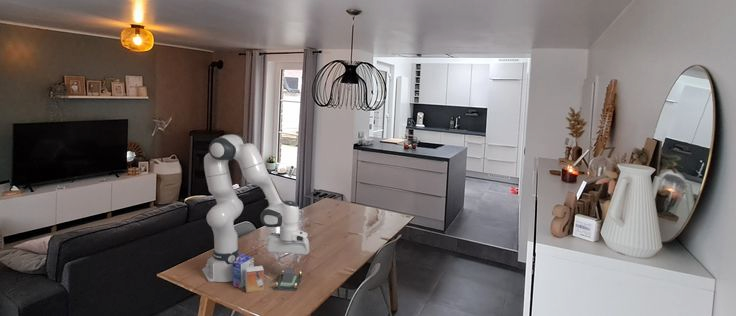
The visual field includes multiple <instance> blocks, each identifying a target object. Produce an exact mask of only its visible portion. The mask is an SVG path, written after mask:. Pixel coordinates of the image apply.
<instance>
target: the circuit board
mask: <svg viewBox="0 0 736 316" xmlns="http://www.w3.org/2000/svg"><path fill="white" fill-rule="evenodd" d="M283 270H284V272H283V280H282V282H281V284H280V286H292V287H293V285H294V282H295V280H296V277H297V276H294V275H295V267H285V268H284V269H283Z"/></svg>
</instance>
